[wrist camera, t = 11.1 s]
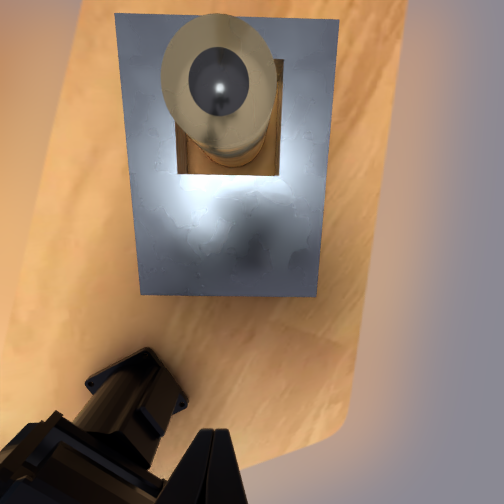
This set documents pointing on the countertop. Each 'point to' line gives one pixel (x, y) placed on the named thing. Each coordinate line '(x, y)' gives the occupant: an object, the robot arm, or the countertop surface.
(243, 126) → the bushing
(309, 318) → the countertop surface
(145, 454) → the robot arm
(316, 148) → the jig
